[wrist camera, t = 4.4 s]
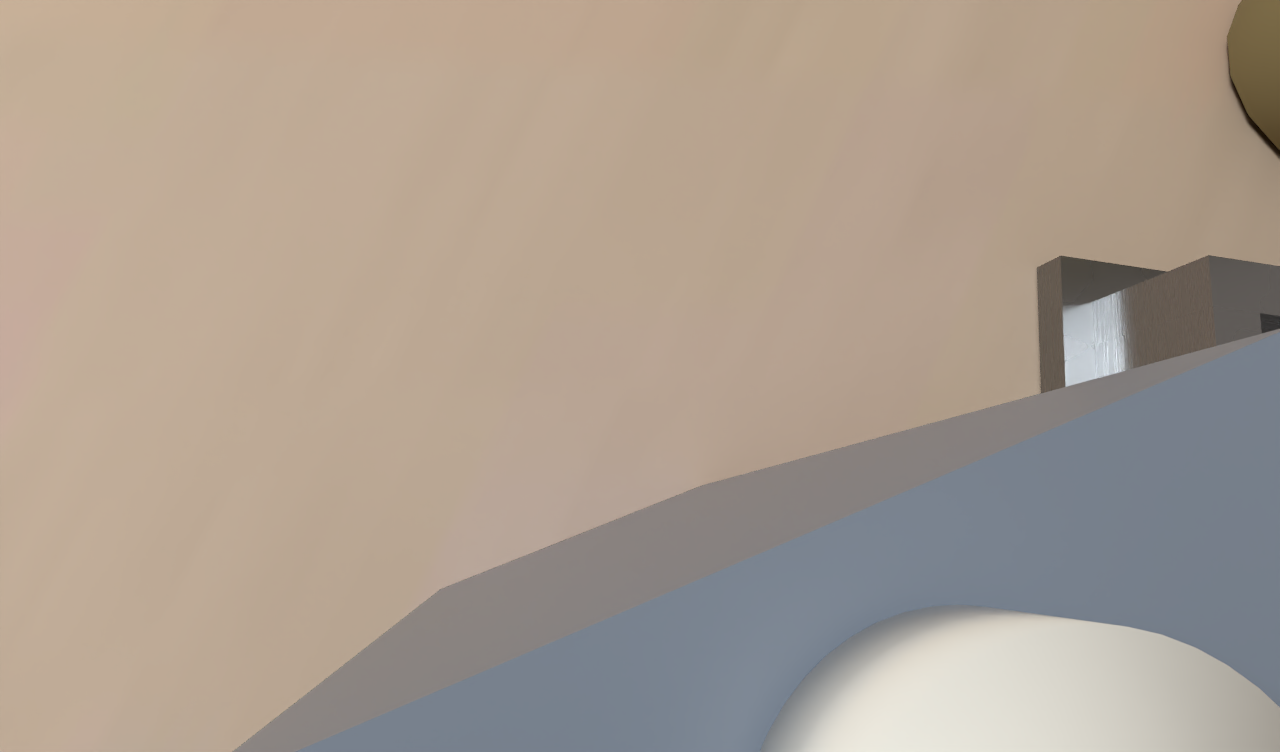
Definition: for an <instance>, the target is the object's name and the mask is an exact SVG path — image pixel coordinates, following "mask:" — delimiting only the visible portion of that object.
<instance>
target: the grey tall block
mask: <svg viewBox="0 0 1280 752" xmlns="http://www.w3.org/2000/svg"><path fill="white" fill-rule="evenodd" d="M233 752H1280V329H1277V330H1273V331H1269V332H1266V333H1262V334H1258V335H1255V336H1251V337H1247V338H1244V339H1240V340H1236V341H1233V342H1229V343H1225V344H1222V345H1218V346H1214V347H1211V348H1207V349H1203V350H1200V351H1196V352H1192V353H1188V354H1185V355H1181V356H1177V357H1174V358H1170V359H1166V360H1163V361H1159V362H1155V363H1152V364H1148V365H1144V366H1141V367H1137V368H1133V369H1130V370H1126V371H1122V372H1119V373H1115V374H1111V375H1107V376H1104V377H1100V378H1096V379H1093V380H1089V381H1085V382H1082V383H1078V384H1074V385H1071V386H1067V387H1063V388H1060V389H1056V390H1052V391H1049V392H1045V393H1041V394H1038V395H1034V396H1030V397H1026V398H1023V399H1019V400H1015V401H1012V402H1008V403H1004V404H1001V405H997V406H993V407H990V408H986V409H982V410H979V411H975V412H971V413H968V414H964V415H960V416H957V417H953V418H949V419H945V420H942V421H938V422H934V423H931V424H927V425H923V426H920V427H916V428H912V429H909V430H905V431H901V432H898V433H894V434H890V435H887V436H883V437H879V438H876V439H872V440H868V441H864V442H861V443H857V444H853V445H850V446H846V447H842V448H839V449H835V450H831V451H828V452H824V453H820V454H817V455H813V456H809V457H806V458H802V459H798V460H795V461H791V462H787V463H783V464H780V465H776V466H772V467H769V468H765V469H761V470H758V471H754V472H750V473H747V474H743V475H739V476H736V477H732V478H728V479H725V480H721V481H717V482H713V483H710V484H706V485H702V486H700V487H697V488H695V489H692V490H690V491H687V492H685V493H682V494H680V495H677V496H675V497H672V498H670V499H667V500H665V501H662V502H659V503H657V504H654V505H652V506H649V507H647V508H644V509H642V510H639V511H637V512H634V513H632V514H629V515H627V516H624V517H622V518H619V519H617V520H614V521H612V522H609V523H607V524H604V525H601V526H599V527H596V528H594V529H591V530H589V531H586V532H584V533H581V534H579V535H576V536H574V537H571V538H569V539H566V540H564V541H561V542H559V543H556V544H554V545H551V546H549V547H546V548H544V549H541V550H538V551H536V552H533V553H531V554H528V555H526V556H523V557H521V558H518V559H516V560H513V561H511V562H508V563H506V564H503V565H501V566H498V567H496V568H493V569H491V570H488V571H486V572H483V573H480V574H478V575H475V576H473V577H470V578H468V579H465V580H463V581H460V582H458V583H455V584H453V585H450V586H448V587H445V588H443V589H440V590H439V591H438V592H436V593H435V594H434V595H433V596H431V597H430V598H429V599H427V600H426V601H425V602H424V603H422V604H421V605H420V606H418V607H417V608H416V609H415V610H413V611H412V612H411V613H409V614H408V615H407V616H406V617H404V618H403V619H402V620H401V621H399V622H398V623H397V624H395V625H394V626H393V627H392V628H390V629H389V630H388V631H386V632H385V633H384V634H383V635H381V636H380V637H379V638H377V639H376V640H375V641H374V642H372V643H371V644H370V645H369V646H367V647H366V648H365V649H363V650H362V651H361V652H360V653H358V654H357V655H356V656H354V657H353V658H352V659H351V660H349V661H348V662H347V663H345V664H344V665H343V666H342V667H340V668H339V669H338V670H337V671H335V672H334V673H333V674H331V675H330V676H329V677H328V678H326V679H325V680H324V681H322V682H321V683H320V684H319V685H317V686H316V687H315V688H314V689H312V690H311V691H310V692H308V693H307V694H306V695H305V696H303V697H302V698H301V699H299V700H298V701H297V702H296V703H294V704H293V705H292V706H290V707H289V708H288V709H287V710H285V711H284V712H283V713H282V714H280V715H279V716H278V717H276V718H275V719H274V720H273V721H271V722H270V723H269V724H267V725H266V726H265V727H264V728H262V729H261V730H260V731H258V732H257V733H256V734H255V735H253V736H252V737H251V738H250V739H248V740H247V741H246V742H244V743H243V744H242V745H241V746H239V747H238V748H237V749H235V750H234V751H233Z"/></svg>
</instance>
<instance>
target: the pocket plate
mask: <svg viewBox="0 0 1280 752" xmlns="http://www.w3.org/2000/svg"><path fill="white" fill-rule="evenodd" d="M1037 280H1038V310H1039V341H1040V372H1041V393H1045V392H1049V391H1052V390H1056V389H1060V388H1063V387H1067V386H1071V385H1074V384H1078V383H1082V382H1085V381H1089V380H1093V379H1096V378H1100V377H1104V376H1107V375H1111V374H1115V373H1119V372H1122V371H1126V370H1130V369H1133V368H1137V367H1141V366H1144V365H1148V364H1152V363H1155V362H1159V361H1163V360H1166V359H1170V358H1174V357H1177V356H1181V355H1185V354H1188V353H1192V352H1196V351H1200V350H1203V349H1207V348H1211V347H1214V346H1218V345H1222V344H1225V343H1229V342H1233V341H1236V340H1240V339H1244V338H1247V337H1251V336H1255V335H1258V334H1262V333H1266V332H1269V331H1273V330H1277V329H1280V266H1274V265H1268V264H1261V263H1255V262H1248V261H1242V260H1235V259H1229V258H1223V257H1216V256H1210V255H1208V256H1206V257H1203V258H1201V259H1198V260H1196V261H1193V262H1191V263H1188V264H1186V265H1183V266H1181V267H1178V268H1176V269H1174V270H1171V271H1169V272H1165V271H1159V270H1152V269H1145V268H1139V267H1132V266H1125V265H1119V264H1112V263H1105V262H1099V261H1092V260H1085V259H1079V258H1072V257H1065V256H1059V257H1057V258H1055V259H1053V260H1051V261H1049V262H1047V263H1045V264H1043V265H1041V266H1039V267H1037Z"/></svg>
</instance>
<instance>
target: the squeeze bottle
mask: <svg viewBox="0 0 1280 752" xmlns="http://www.w3.org/2000/svg"><path fill="white" fill-rule="evenodd" d="M1227 42H1228V53H1229V65H1230V76H1231V78H1232V80H1233V82H1234V85H1235V87H1236V89H1237V91H1238V94H1239V96H1240V98H1241V100H1242V102H1243V105H1244V107H1245V109H1246V111H1247V113H1248V115H1249V116H1250V118H1251V119H1252V120H1253V121H1254V122H1255V123H1256V124H1257V126H1258V127H1259V128H1260V129H1261V130H1262V131H1263V132H1264V133H1265V135H1266V136H1267V137H1268V138H1269V139H1270V140H1271V141H1272V142H1273V144H1274V145H1275V146H1276V147H1277V148H1278V149H1279V150H1280V0H1242V1H1241V2H1240V4H1239V5H1238V8H1237V11H1236V13H1235V16H1234V19H1233V22H1232V25H1231V27H1230V30H1229V33H1228V36H1227Z"/></svg>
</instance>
